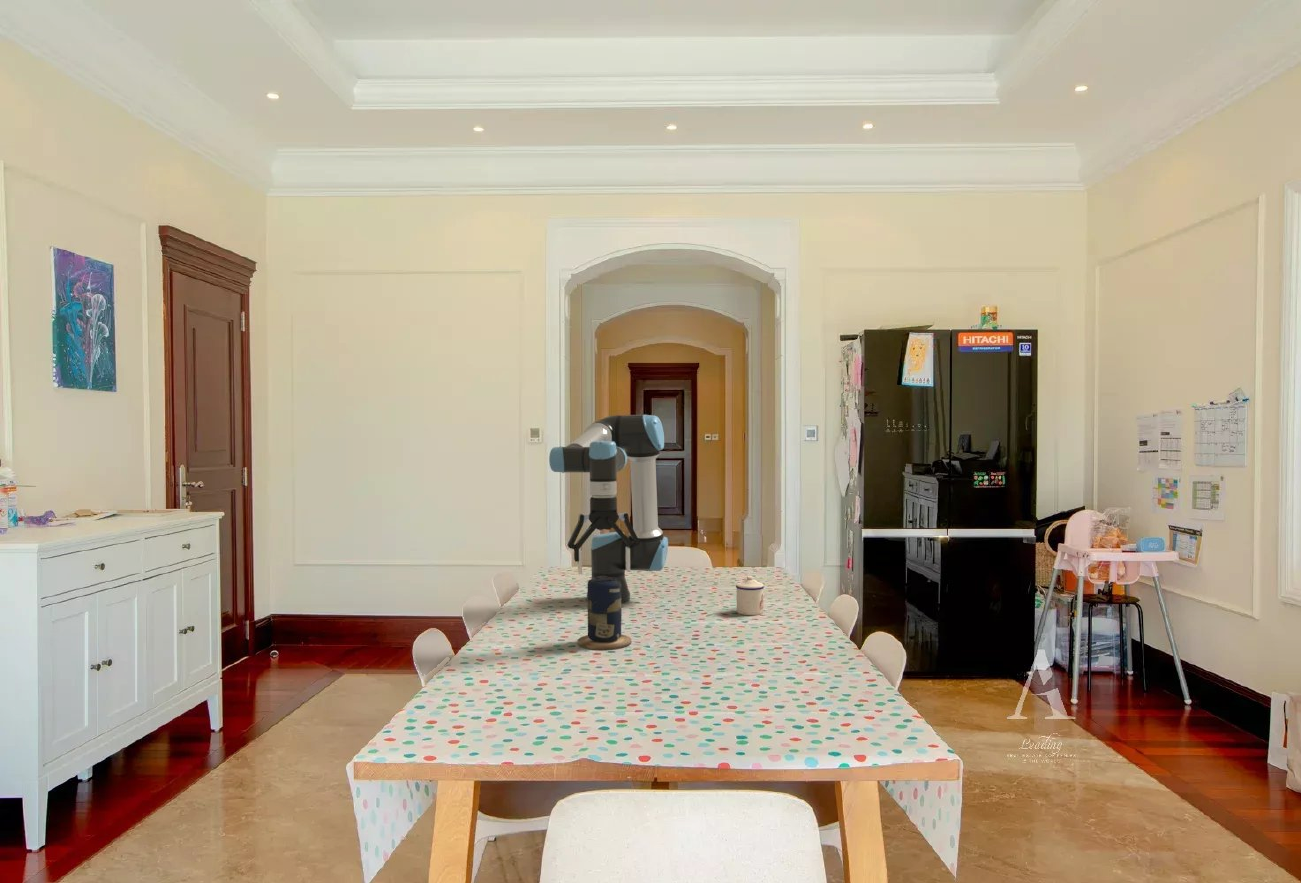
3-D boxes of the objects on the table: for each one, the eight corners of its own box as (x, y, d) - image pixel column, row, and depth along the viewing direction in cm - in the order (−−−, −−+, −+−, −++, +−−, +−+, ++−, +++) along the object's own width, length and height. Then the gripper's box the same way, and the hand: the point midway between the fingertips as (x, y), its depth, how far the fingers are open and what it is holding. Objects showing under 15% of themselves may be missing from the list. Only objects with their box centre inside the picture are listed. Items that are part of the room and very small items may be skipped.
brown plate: (566, 644, 234) (566, 641, 234) (601, 633, 245) (601, 630, 245) (607, 653, 224) (607, 649, 224) (642, 641, 236) (642, 638, 236)
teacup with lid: (766, 615, 266) (766, 579, 266) (738, 616, 266) (737, 579, 266) (759, 607, 278) (759, 572, 278) (732, 607, 278) (732, 572, 278)
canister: (606, 633, 242) (606, 571, 241) (628, 639, 235) (628, 575, 234) (580, 639, 235) (580, 575, 235) (602, 646, 228) (602, 580, 228)
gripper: (560, 498, 228) (561, 576, 228) (649, 496, 233) (650, 572, 234) (557, 496, 235) (558, 571, 236) (644, 493, 240) (644, 567, 241)
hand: (604, 572), depth 235 cm, fingers open, 13 cm apart
